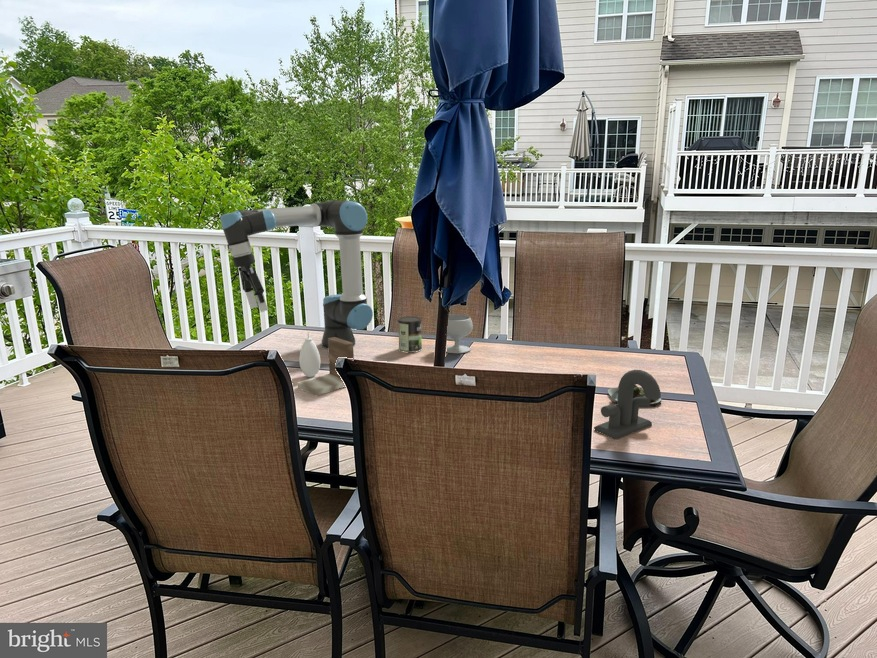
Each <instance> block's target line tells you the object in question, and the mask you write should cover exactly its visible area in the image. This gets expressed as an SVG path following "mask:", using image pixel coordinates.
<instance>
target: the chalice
mask: <svg viewBox="0 0 877 658" xmlns="http://www.w3.org/2000/svg"><path fill="white" fill-rule="evenodd" d="M448 315H449V318H448V326H447V335H446V336H447V337H449V338H451V339H452V340H453V341H454V345H453V344H451V345H447V346H446V347H447V352H446V353H448V354H456V355H457V354H466V353H469V352H471V349H472V348H470V347H469V346H466V345H460V340H462V338H465V337H466V336H468V335H469V334H471V333H472V331H473V328H474V326H473V324H474V323H473V321H472V318H471V316H469V315H467V314H463V313H462V314H461V313H452V314H448Z"/></svg>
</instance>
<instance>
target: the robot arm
mask: <svg viewBox="0 0 877 658" xmlns="http://www.w3.org/2000/svg"><path fill="white" fill-rule="evenodd" d="M219 219H220V224H221V228H222V230H223V234H224V236H225V239H226V243H227V246H228V248H227V251H228V252H230V255H231V257H232V262H233V265H234V267H235V268H238V271H239V276H240V280H241V285H242V286H241V288H242V290H243V291H244V292H245V294H246V298H247V301H248V305H249V308H250V310H252V309H256V308H258V309H259V311H260V313H263V312H265V311H266V312H267V311H268V310H269V308H268V305H267V302H266V299H265V296H264V293H265V289H264V287H263V285H262V282H261V281H260V278H259V276H258V274H257V272H256V271H257V270H256V268H255V267H254V266H253V267H252V265H253V264H254V263H256V260H255V257H254V254H253V253H252V251H253V249H252V246H251V243H250V240H249V236H253V235H256V234H260V233H265V232H268V231H271V230H274V229H275V228H283V227H284V228H285V227H286V228H287V227H296V226H297V227H298V226H306V225H308V226H309V225H311V226H313V227H325V228H326V227H328V228H333V229H334V235H335V236H336V237H337V238H338V243H339V244H338V245H339V257H340V271H341V273H340V274H341V286H342V287H341V288H342V293H338V294H332V295H331V294H330V295H326V296H324V297H323V301H322V302H323V303H322V307H323V321H324V322H323V323H324V324H323V325H324V330H323V334H322V339H321V347H322V348H324V349H328V338H331V337H336V338H339V339H342V340H345V341H348V342H351V343H353V347H354V346H355V345H356V338H355V335H354V333H353V330H359V331H360V330H363V329H365V328H367V327H368V326H369V324H370V323H371V322H372V319H373V318H374V317H373V316H374V312H373V309H372V306H370V305H369V304H368V296H367V295H366V294H364V290H363V289H364V287H363V286H364V285H363V272H362V269H363V268H362V256H361V255H362V254H361V253H362V252H361V241H360V240H361V239H360V238H361V236H363V234H364V228H365V227H366V225H367V223H368V213H367V210H366V209H365V207H364V206H363V205H362V204H361V203H359V202H357V201H354V200H353V201H352V200H336V199H334V200H328V201H324V202H323V201H322V202H313V203H311V204H310V205H307V206H306V205H305V206H293V207H292V206H291V207H290V206H289V207H278V208H277V207H275V208H274V207H273V208H260V209H247V210H243V209H238V210H235V211H233V212H230V213H225V214H221V216H220V217H219Z"/></svg>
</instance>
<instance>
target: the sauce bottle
mask: <svg viewBox="0 0 877 658" xmlns="http://www.w3.org/2000/svg"><path fill="white" fill-rule="evenodd" d="M309 333H310V332H307V337H306V338H305V339H304V342H303V343H302V345H301V349H300V352H299V360H298V361H299V366H300V371H301V373H302V374H303V375H305V376H306V377H308V378H314V377H316V375H317V374H318V373H319V371H320V368H321V355H320V351H319V349H318V346H317V345H316V343H315V342H314V341H313V337H310V334H309Z"/></svg>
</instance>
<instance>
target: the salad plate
mask: <svg viewBox="0 0 877 658" xmlns="http://www.w3.org/2000/svg"><path fill="white" fill-rule="evenodd" d="M618 388H619V385H617V386H616V387H612V388H609V389H608V390H607V393H608V395H609V397H610V398H609V400H610V401H611V402H614V403H615V404H617V401H618ZM635 397H646V396H645V392H644V390H643V388H642V387H641V386H638V385H637V384H636V385H635V386H634V389H633V398H635ZM650 402H651V404H650V407H649V408H653V407H657V406H659V405H660V404H661V402H662V397H661V398H660V399H658V400H651V399H650Z"/></svg>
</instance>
